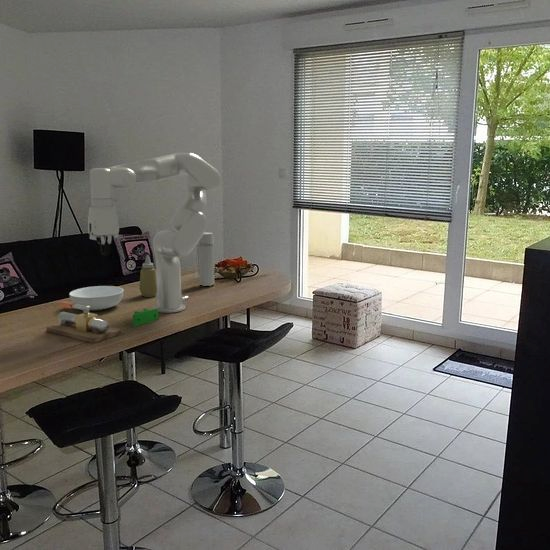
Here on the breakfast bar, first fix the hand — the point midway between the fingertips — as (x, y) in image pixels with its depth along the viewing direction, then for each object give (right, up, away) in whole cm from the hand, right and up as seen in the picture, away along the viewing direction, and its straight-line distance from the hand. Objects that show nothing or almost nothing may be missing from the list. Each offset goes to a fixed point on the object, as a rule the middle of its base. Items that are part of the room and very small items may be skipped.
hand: (105, 254), depth 208 cm
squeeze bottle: (+6, -17, +45) cm, 49 cm away
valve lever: (-8, -20, -8) cm, 23 cm away
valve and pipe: (-5, -26, -9) cm, 28 cm away
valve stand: (-5, -27, -8) cm, 29 cm away
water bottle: (+28, -13, +67) cm, 73 cm away
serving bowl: (-11, -21, +25) cm, 34 cm away
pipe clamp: (+13, -25, +5) cm, 29 cm away
